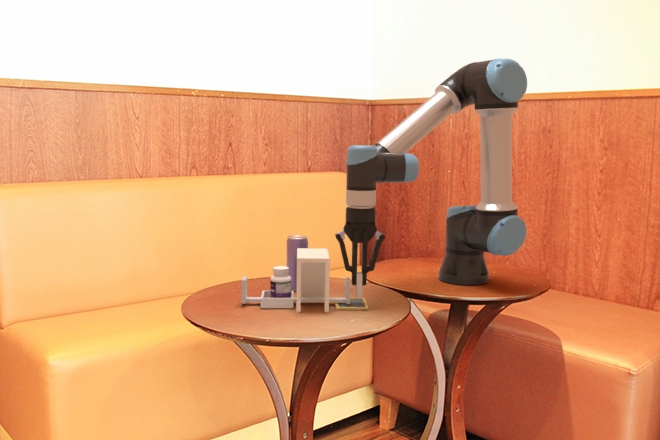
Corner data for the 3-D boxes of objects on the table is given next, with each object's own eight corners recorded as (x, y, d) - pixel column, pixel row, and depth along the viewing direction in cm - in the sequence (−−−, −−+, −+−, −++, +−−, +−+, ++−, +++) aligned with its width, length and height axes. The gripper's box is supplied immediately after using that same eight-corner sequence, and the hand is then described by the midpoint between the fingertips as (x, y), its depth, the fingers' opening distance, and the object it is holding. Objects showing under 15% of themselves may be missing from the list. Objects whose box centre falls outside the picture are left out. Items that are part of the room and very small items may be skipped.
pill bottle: (269, 302, 167) (269, 265, 166) (290, 301, 168) (290, 265, 167) (270, 307, 162) (270, 269, 161) (292, 307, 163) (292, 269, 161)
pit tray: (364, 300, 171) (364, 297, 171) (368, 310, 161) (368, 307, 161) (334, 299, 171) (334, 297, 171) (336, 310, 161) (336, 307, 161)
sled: (348, 300, 170) (348, 275, 169) (350, 308, 162) (351, 282, 161) (243, 299, 169) (243, 274, 168) (240, 308, 161) (240, 281, 160)
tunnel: (326, 298, 173) (327, 248, 171) (328, 312, 159) (329, 258, 157) (296, 297, 172) (297, 248, 170) (296, 312, 158) (296, 258, 157)
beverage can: (304, 292, 179) (305, 238, 177) (284, 290, 180) (284, 237, 178) (309, 287, 184) (310, 235, 182) (289, 286, 186) (290, 234, 184)
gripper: (384, 205, 167) (381, 294, 170) (334, 204, 166) (332, 293, 169) (388, 208, 159) (385, 301, 162) (336, 207, 159) (334, 301, 162)
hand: (358, 297), depth 166 cm, fingers closed
